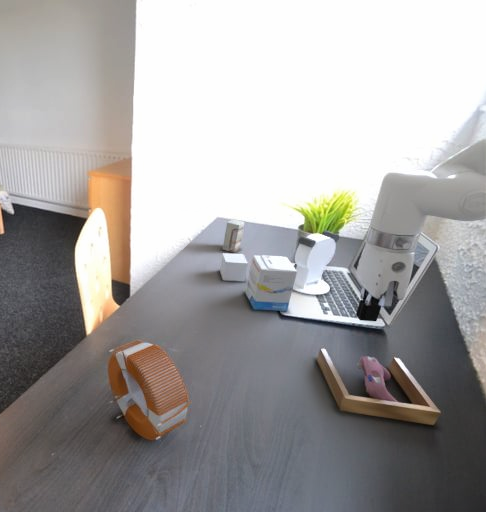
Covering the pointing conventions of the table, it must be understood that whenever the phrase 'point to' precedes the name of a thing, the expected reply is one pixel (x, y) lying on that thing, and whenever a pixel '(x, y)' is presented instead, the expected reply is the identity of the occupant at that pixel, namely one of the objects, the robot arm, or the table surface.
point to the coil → (147, 389)
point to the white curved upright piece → (313, 262)
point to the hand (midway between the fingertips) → (365, 318)
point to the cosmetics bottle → (233, 235)
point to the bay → (416, 412)
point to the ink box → (270, 282)
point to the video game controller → (375, 378)
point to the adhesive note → (233, 267)
